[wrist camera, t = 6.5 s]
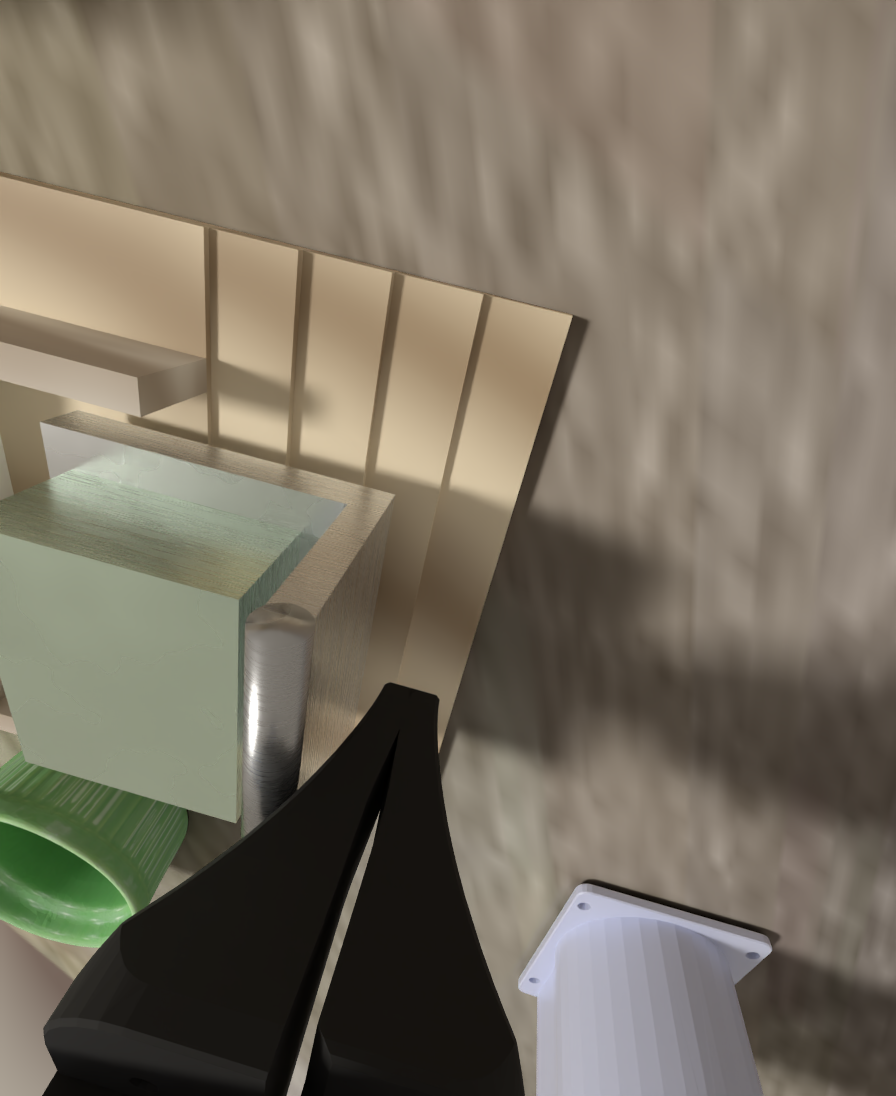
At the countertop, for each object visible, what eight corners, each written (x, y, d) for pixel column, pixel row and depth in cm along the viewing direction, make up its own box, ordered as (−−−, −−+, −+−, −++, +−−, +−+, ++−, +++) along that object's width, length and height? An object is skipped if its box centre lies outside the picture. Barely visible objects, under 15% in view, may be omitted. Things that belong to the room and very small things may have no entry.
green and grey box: (355, 740, 17) (272, 951, 12) (121, 673, 17) (-62, 850, 12) (400, 492, 13) (299, 654, 7) (84, 408, 13) (-231, 505, 8)
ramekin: (129, 706, 21) (39, 803, 17) (236, 845, 25) (181, 950, 21) (-20, 731, 24) (-128, 820, 20) (96, 854, 27) (24, 949, 24)
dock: (424, 798, 21) (402, 896, 18) (74, 697, 21) (-10, 774, 18) (572, 314, 12) (581, 333, 9) (-39, 162, 12) (-244, 125, 9)
